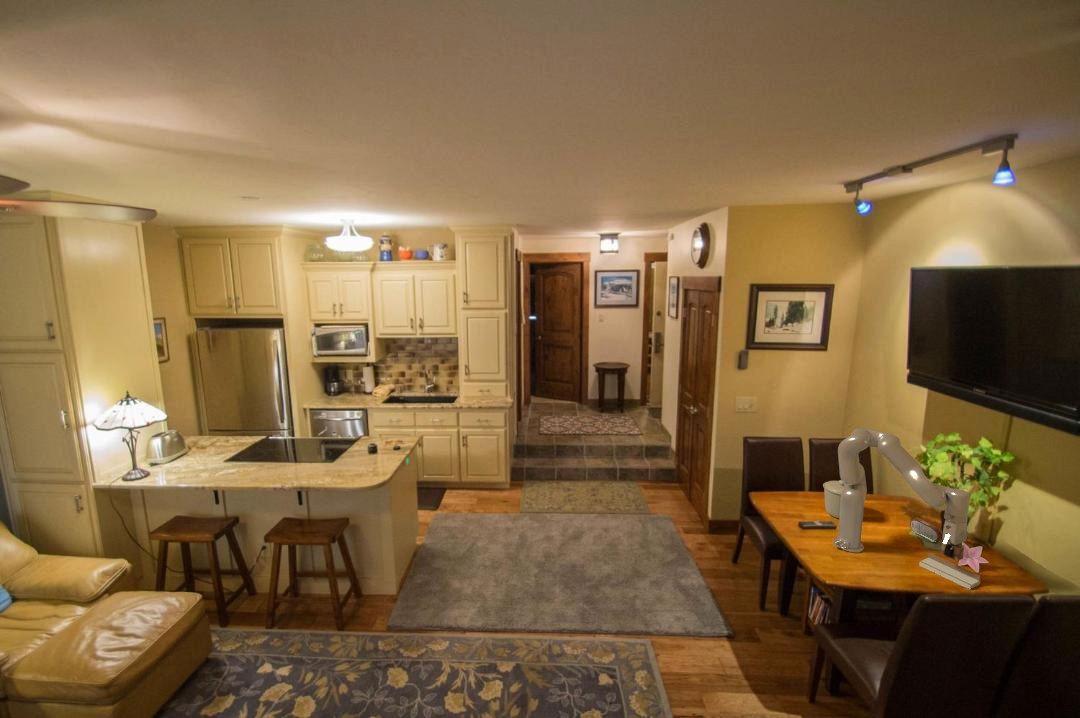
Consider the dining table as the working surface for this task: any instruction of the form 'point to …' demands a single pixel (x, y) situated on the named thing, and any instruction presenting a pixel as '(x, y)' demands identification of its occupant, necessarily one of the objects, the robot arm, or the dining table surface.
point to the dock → (951, 571)
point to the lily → (972, 557)
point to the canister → (833, 497)
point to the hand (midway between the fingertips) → (952, 554)
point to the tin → (926, 529)
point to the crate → (955, 551)
